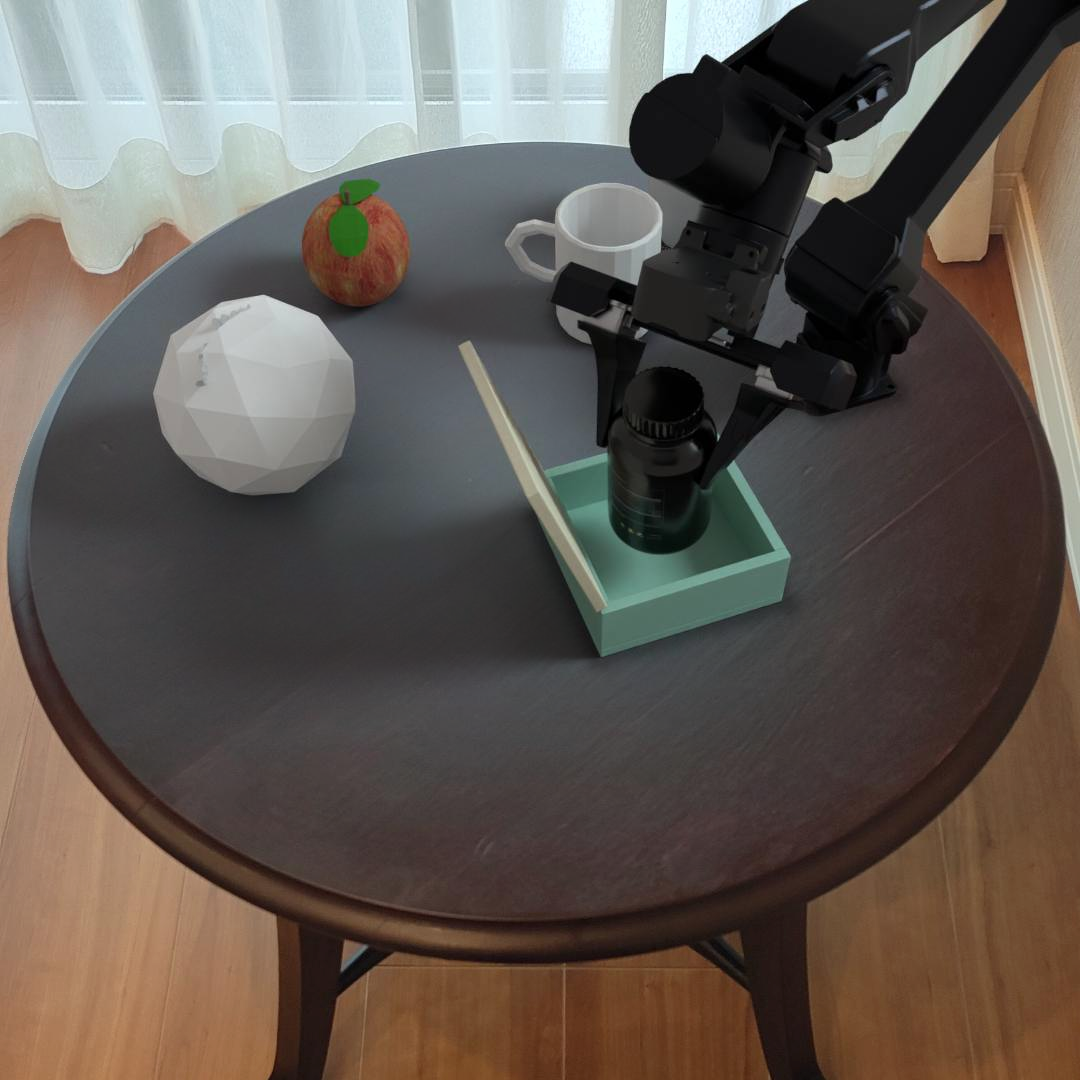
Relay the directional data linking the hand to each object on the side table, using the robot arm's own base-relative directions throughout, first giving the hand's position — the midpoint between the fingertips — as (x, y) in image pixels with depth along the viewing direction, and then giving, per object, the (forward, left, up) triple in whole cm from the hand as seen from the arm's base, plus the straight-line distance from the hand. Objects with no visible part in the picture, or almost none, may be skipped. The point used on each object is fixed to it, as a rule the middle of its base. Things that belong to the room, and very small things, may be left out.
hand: (651, 467), depth 82 cm
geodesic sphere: (+22, -19, -12) cm, 31 cm away
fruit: (+11, -35, -12) cm, 39 cm away
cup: (-17, -32, -12) cm, 39 cm away
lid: (+7, -1, +1) cm, 7 cm away
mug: (-5, -26, -12) cm, 29 cm away
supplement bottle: (-1, -1, -7) cm, 7 cm away
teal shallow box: (-1, -1, -11) cm, 12 cm away
